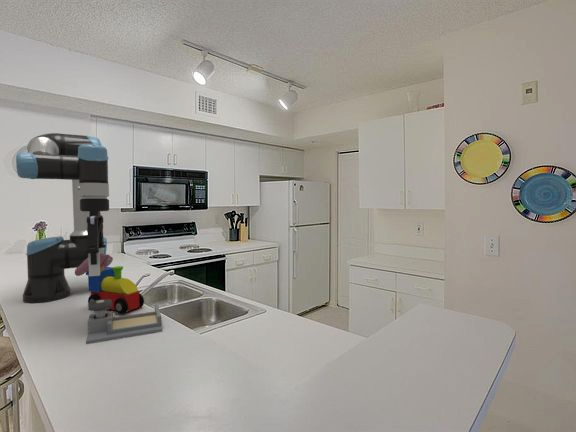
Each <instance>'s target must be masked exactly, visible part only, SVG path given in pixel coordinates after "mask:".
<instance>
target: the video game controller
mask: <svg viewBox="0 0 576 432" xmlns="http://www.w3.org/2000/svg"><path fill="white" fill-rule="evenodd" d="M113 260H114V257H113V256H111V255H110V254H107V253H106V254H100V272H102V271H104V269H105V268H106V267H110V265H111V264H112V262H113ZM87 271H88V272H89V261H88V258H87V259H86V260H84V262H83V263H82V264H81V265H80V266H78V267H77V268H75V269H74V275H75V276H77V277H80V276H83V275H84V274H86V272H87Z"/></svg>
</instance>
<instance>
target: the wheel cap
mask: <svg viewBox="0 0 576 432" xmlns="http://www.w3.org/2000/svg"><path fill="white" fill-rule="evenodd" d="M87 305H88V306H87V307H88V311H90V312H95V314H96V318H103V317H105V312H106V310H110V309H109V308H111V307H112V300H110V299H100V300H95V301H91V302H89V303H88V302H87Z"/></svg>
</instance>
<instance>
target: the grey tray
mask: <svg viewBox="0 0 576 432" xmlns="http://www.w3.org/2000/svg"><path fill="white" fill-rule="evenodd" d="M160 311H161V309H160V307H159V304H155V305H154V311H147V312H141V313H135V314H134V313H133V314H128V315H127V314H124V315H121V316H120V315H119V316H114V310H109V311H105V317H103V318H96V313H90V314H89V316H88V318H87V336H86V340H85V344H86V345H88V344H95V343H100V342H107V341H113V340H117V338H119V339H124V338H123V337H125V338H131V337H136V336H141V335H142V336H143V335H148V334H155V333H161V332H163V327H162V314H161V312H160ZM112 339H113V340H112Z"/></svg>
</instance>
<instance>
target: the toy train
mask: <svg viewBox="0 0 576 432" xmlns="http://www.w3.org/2000/svg"><path fill="white" fill-rule="evenodd" d="M123 269H124V266H123V265H122V266H121V265H116V266H112V267H111V266H107V267H106V268H105V269H104V271H102V272H100V276H89V272H88V271H87V272H86V273H85V276H87V280H88V283H87V285H88V291H89V292H90V295H89V297H88V299H87V304H88V303H89V302H91V301H95V300H100V299H110V300H112V307H111V308H109V309H108V310H112V311H114V310H115V312H116V313H117V314H118V315H121V316H124V315H126V314H127V313H128V312H129V311H133V310H135V309H140V308H142V307H143V306H144V304H145V299H144V296H143V295H142V294H141V293H140V291H139V289H138V287H137V284H135V283H134V282H133V281H132V280H130V279H128V278H125V277H122V272H123Z"/></svg>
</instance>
